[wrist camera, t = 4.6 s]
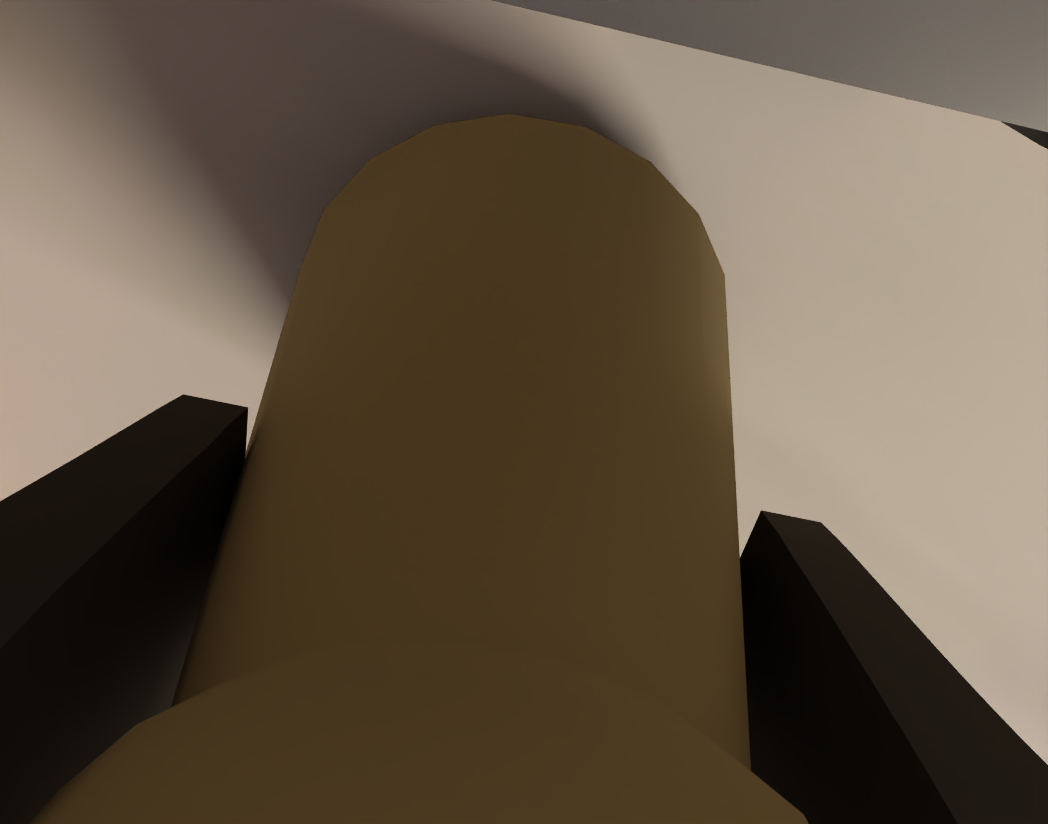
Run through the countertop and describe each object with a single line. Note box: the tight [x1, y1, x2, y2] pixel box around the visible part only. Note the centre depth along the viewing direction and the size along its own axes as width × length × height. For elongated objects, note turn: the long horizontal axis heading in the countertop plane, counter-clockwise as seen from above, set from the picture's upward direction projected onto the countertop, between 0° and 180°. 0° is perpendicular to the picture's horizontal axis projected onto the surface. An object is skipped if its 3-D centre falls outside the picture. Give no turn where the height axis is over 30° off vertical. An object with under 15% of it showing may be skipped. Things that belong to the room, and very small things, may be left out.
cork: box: [28, 114, 809, 824], centre depth 8 cm, size 6×6×11 cm
